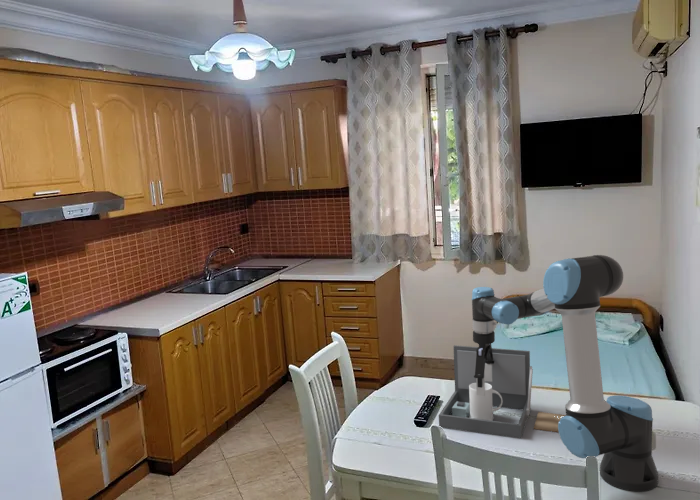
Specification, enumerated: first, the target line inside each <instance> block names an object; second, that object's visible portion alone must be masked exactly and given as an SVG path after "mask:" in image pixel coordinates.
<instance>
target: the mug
mask: <svg viewBox="0 0 700 500" xmlns="http://www.w3.org/2000/svg"><path fill="white" fill-rule="evenodd" d="M492 393H496V394H498V395H499V396H500V398H501V404H500V406H499V407H494V406H493V405H492ZM469 398H470V414H469V416H468V418H475V419H483V420H491V421H494V414H493V413H494V412H496V411H498V410H500V409H501V408H502V407H501V406H502V403H503V400H502V397H501V395H500V394H499V393H498V392H497V391H495V390H493V389H492V386H491V385H490V384H488V383H485V396H480V395H477V390H476V383H472V384H470V385H469Z"/></svg>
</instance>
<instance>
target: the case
mask: <svg viewBox="0 0 700 500" xmlns="http://www.w3.org/2000/svg"><path fill="white" fill-rule="evenodd" d="M478 347H479V346H470V345H468V346H467V345H455V344H454V345H453V370H454V372H453V373H454V375H453V376H454V392H453V393H452V395H451V396H450V398H449V399H448V401H447V402H446V404H445V405H444V407H443V408H442V409H441V411H440V412H439V414H438V427H439V426H441V427H443V428H442V429H450V430H456V431H464V432H470V433H471V432H472V433H478V434H479V433H480V434H487V435H492V436H501V437H508V438H517V439H522V436H523V434H524V431H525V428H526V425H527V421H528V418H529V415H530V413H531V409H532V408H531V406H532V405H531V403H532V402H531V400H532V387H533V384H532V383H533V370H534V369H533V366H532V365H531V356H530V355H531V351H530V350H524V349H523V350H520V349H510V348H509V349H508V348H497V347H496V348H495V347H492V354H493V361H494V364H492V363H491V364H492V382H490V381H485V383H488V384H490V385H491V386H492V389H493V390H495V391H497V392H498V393H499V394H500V395H501V397H502V400H503V403H502V406H501V407H500V408H505V409H511V410H512V409H514V410H520V409H523V410H522V412H521V415H520V418H519V421H518V423H514V422H513V423H512V422H507V421H498V420H492V421H491V420H483V419H475V418H469V417H459V416H452V407H453V406H454V404H455V403H456V402H457V401H458V402H466V403H470V398H469V385H470V384H472V383H476V378H474V375H475V367H476V350H477V348H478ZM485 364H486V363H485ZM478 375H480V374H478ZM500 404H501V398H500V396H499V395H498V394H496V393H492V405H493V408H497V407H499V406H500ZM441 427H440V428H441Z"/></svg>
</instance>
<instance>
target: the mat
mask: <svg viewBox="0 0 700 500" xmlns="http://www.w3.org/2000/svg"><path fill="white" fill-rule="evenodd" d="M554 416H555V417H554ZM557 416H558V418H559V419H558V418H557ZM561 416H566V414H561V413H551V412H545V411H544V412H543V411H538V412H537V415H536V418H535V422H534V424H533V425H534V426H533V430H536V431H543V432H545V431H546V432H551V431H552V433H558V434H559V431H558V423H559V421H560V419H561V418H560V417H561Z"/></svg>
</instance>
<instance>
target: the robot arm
mask: <svg viewBox="0 0 700 500" xmlns="http://www.w3.org/2000/svg"><path fill="white" fill-rule="evenodd" d="M623 282H624V271H623V268H622V266H621V265H620V263H619V262H618V261H617V260H615V259H614V258H612V257H610V256H608V255H603V254H596V255H595V254H594V255H590V256H582V257H572V258H568V257H567V258H564V259H560V260H557V261H554V262H553V263H551V264H550V265H549V266H548V268H547V269H546V271H545V273H544V275H543V281H542V283H543V284H542V285H543V288H540V289H538V290H536V291H533V292H532V293H528V294H524V295H517V296H512V297H505V298H500V297H496V296H495V291H494V289H493V288H492V287H490V286H478V287H475V288H473V289H472V293H471V295H472V297H471V308H472V309H471V310H472V311H471V312H472V330H473V331H472V341H473V343H475V344H477V345H478V346H477V347H478V348H477V350H476V367H475V375H474V378H476V390H477V395H480V396H485V381H490V382H492V364H494V361H493V354H492V348H493V347H492V344H494V342H495V339H496V337H495V326H497V323H499V324H502V325H512V324H514V323H515V322H516V321H517V320H520V319H524V318H531V317H538V316H543V315H546V314H547V313H549V312H550V311H552V310H556V311H557V312H559V314H560V315H561V322H562V330H563V333H562V334H563V340H564V351H565V361H566V371H567V380H568V381H567V382H568V389H569V399H570V400H568V402H566V404H565V405H564V406H565V415H566V416H564V417H562V418H561V419H560V421H559V423H558V431H559V433H558V434H559V437H560V440H561V442H562V444H563V445H564V446H565V447H566V449H567V450H568V451H569V452H570V453H571V454H572V455H574V456H575V457H577V458H579V459H587V458H586V457H587V456H595V457H594V458H597V457H599V456H602V455H603V457H602V459H601V460H600V461H601V462H600V465H599V476H600V477H601V479H603V481H604V482H606V483H607V484H609V485H611V486H612V487H615V488H618V489H621V490H625V491H631V492H646V491H650V490H654V489H656V487H657V486H658V485H659V472H658V469H657V467H656V464H655V460H654V457H653V455H652V454H653V452H652V451H653V449H652V448H653V420H654V418H653V409H652V406H651V405H649V403H647V402H645V401H643V400H641V399H639V398H636V397H631V396H626V395H618V394H617V395H610V396H607V398H606V400H605V398H604V389H603V388H604V387H603V379H602V371H601V360H600V358H601V357H600V349H599V340H598V339H599V338H598V331H597V330H598V329H597V321H596V311H597V310H598V309H599V308H601V302H600V301H601V300H600V298H602V297H608V296H610V295H612V294H614V293H615V292H617V291H618V290H620V288H621V286H622V284H623ZM485 363H486V364H485ZM491 363H492V364H491ZM478 374H480V375H478Z"/></svg>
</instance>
